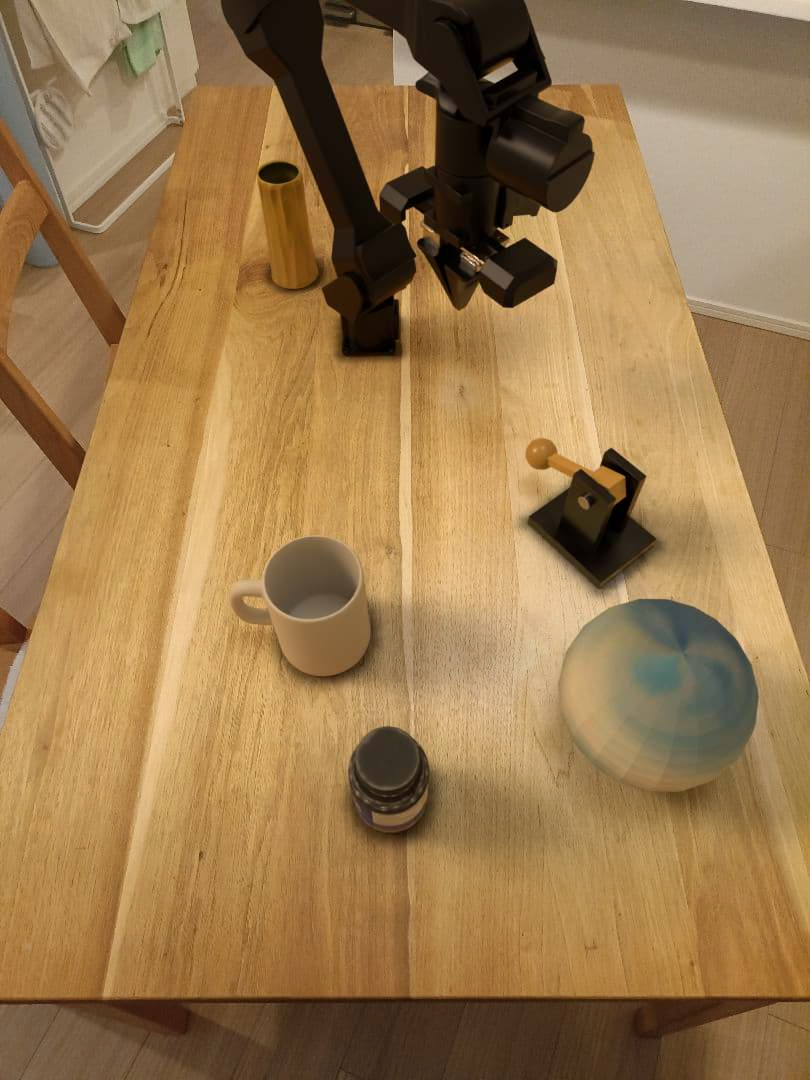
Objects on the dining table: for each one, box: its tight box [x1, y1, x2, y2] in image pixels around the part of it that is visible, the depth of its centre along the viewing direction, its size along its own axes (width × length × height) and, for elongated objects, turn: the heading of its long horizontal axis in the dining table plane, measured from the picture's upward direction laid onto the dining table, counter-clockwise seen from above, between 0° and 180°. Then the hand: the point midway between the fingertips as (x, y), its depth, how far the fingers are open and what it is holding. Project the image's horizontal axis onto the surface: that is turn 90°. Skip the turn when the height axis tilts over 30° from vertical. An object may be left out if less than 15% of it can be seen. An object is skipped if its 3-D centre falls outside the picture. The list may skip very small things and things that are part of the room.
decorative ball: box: [557, 598, 760, 793], centre depth 61 cm, size 15×15×15 cm
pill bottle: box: [347, 725, 430, 834], centre depth 59 cm, size 6×6×11 cm
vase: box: [255, 158, 319, 290], centre depth 94 cm, size 6×6×14 cm
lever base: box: [527, 447, 657, 589], centre depth 74 cm, size 10×8×10 cm
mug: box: [228, 534, 371, 677], centre depth 68 cm, size 12×8×11 cm
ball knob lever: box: [524, 437, 626, 505], centre depth 74 cm, size 12×3×3 cm, turn 38°
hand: (460, 307), depth 77 cm, fingers closed
